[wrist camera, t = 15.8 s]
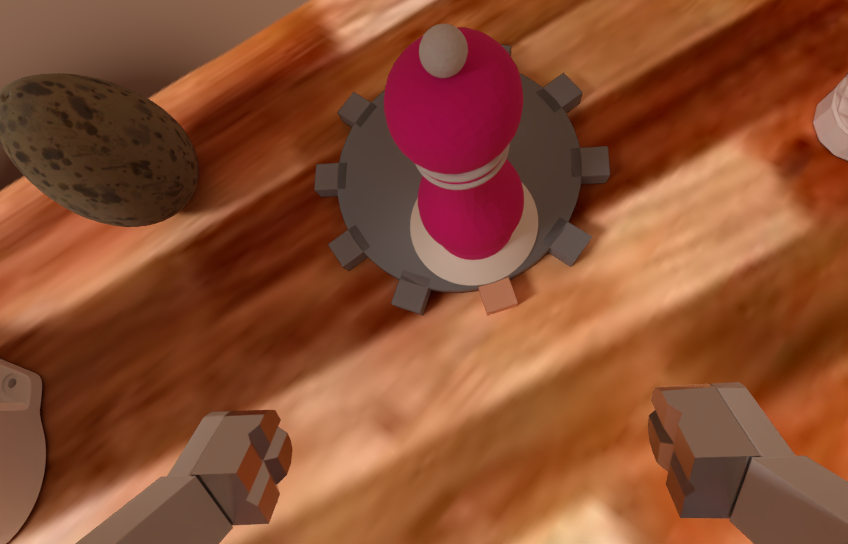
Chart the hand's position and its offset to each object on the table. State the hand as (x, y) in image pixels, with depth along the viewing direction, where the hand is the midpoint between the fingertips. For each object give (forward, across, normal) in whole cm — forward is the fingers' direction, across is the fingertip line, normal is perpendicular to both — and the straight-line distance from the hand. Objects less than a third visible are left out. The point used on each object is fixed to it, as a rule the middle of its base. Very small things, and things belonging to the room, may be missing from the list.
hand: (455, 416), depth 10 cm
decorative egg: (+31, +28, +4) cm, 42 cm away
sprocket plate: (+30, +1, +5) cm, 30 cm away
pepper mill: (+25, 0, +8) cm, 26 cm away
